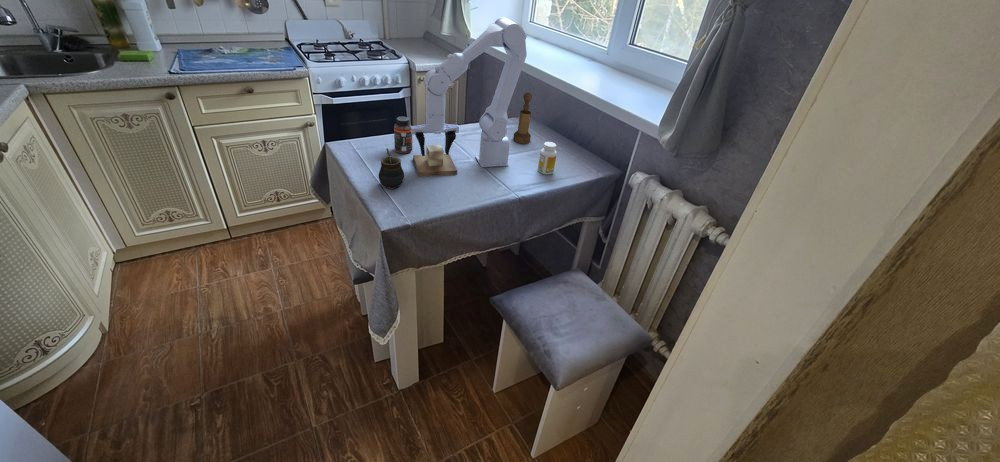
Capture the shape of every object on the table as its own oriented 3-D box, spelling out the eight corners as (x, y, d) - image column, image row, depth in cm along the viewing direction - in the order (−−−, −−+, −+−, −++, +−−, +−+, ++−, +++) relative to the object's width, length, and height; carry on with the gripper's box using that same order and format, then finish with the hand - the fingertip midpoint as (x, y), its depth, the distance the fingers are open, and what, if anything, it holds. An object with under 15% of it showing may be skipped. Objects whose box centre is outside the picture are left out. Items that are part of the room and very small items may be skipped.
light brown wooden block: (448, 159, 146) (449, 153, 145) (457, 175, 137) (457, 170, 136) (413, 160, 143) (413, 155, 141) (419, 178, 133) (419, 172, 132)
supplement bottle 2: (554, 169, 146) (560, 143, 141) (551, 176, 142) (556, 149, 137) (539, 165, 148) (544, 139, 142) (535, 172, 143) (540, 145, 138)
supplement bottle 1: (408, 155, 144) (407, 123, 138) (391, 152, 145) (390, 120, 138) (415, 148, 149) (414, 117, 142) (398, 145, 150) (397, 114, 143)
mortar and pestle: (530, 144, 162) (537, 97, 151) (513, 142, 161) (519, 95, 151) (529, 137, 167) (536, 91, 157) (513, 135, 167) (518, 89, 156)
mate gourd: (385, 193, 123) (383, 161, 118) (374, 181, 128) (372, 150, 122) (408, 187, 127) (407, 156, 121) (397, 176, 132) (396, 146, 126)
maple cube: (439, 159, 141) (440, 144, 138) (443, 165, 138) (443, 151, 135) (426, 159, 140) (426, 145, 137) (429, 166, 136) (429, 151, 133)
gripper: (413, 118, 124) (414, 160, 132) (462, 116, 128) (460, 158, 136) (409, 109, 129) (410, 150, 137) (456, 108, 134) (454, 148, 142)
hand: (434, 154), depth 137 cm, fingers open, 7 cm apart
